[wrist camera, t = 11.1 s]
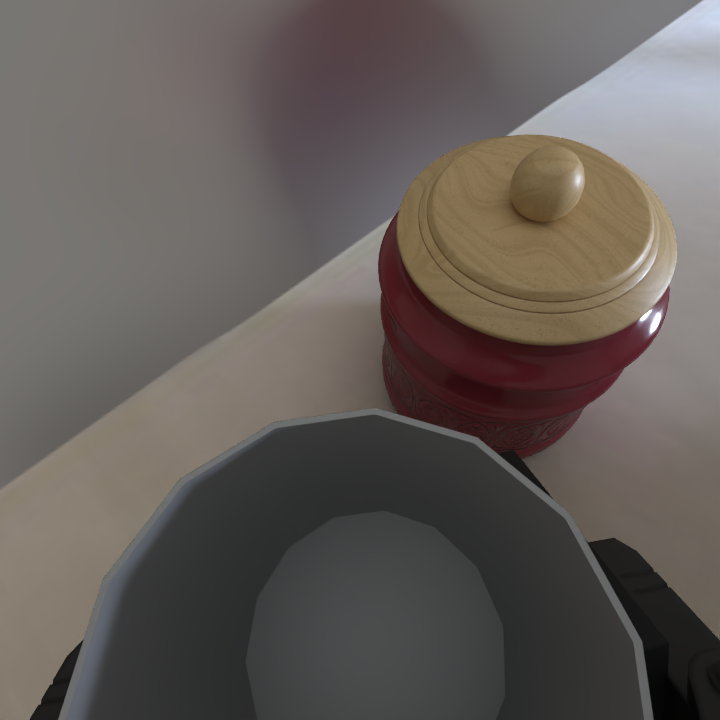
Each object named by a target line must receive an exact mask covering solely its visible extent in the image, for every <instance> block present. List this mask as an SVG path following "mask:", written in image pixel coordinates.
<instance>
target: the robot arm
mask: <svg viewBox="0 0 720 720" xmlns="http://www.w3.org/2000/svg"><path fill="white" fill-rule="evenodd" d="M497 454H498V455H499V456H501V457H502V458H503V459H504V460H506V461H507V462H508V463H509V464H510V465H512V466H513V467H514V468H515V469H517V470H518V471H519V472H520V473H521V474H523V475H524V476H525V477H526V478H528V479H529V480H530V481H531V482H532V483H534V484H535V485H536V486H537V487H539V488H540V489H541V490H542V491H543V492H545V493H546V494H547V495H548V496H550V494H549V493H548V492H547V491H546V490H545V488H544V487H543V486H542V485H541V483H540V482H539V481H538V480H537V478H536V477H535V476H534V475H533V473H532V472H531V471H530V470H529V468H528V467H527V466H526V465H525V463H524V462H523V461H522V460H521V458H520V457H519V456H518V455H517V453H516V452H515V451H514V450H510V451H504V452H499V453H497ZM550 497H551V496H550ZM551 498H552V497H551ZM552 499H553V498H552ZM553 500H554V499H553ZM585 540H586V539H585ZM586 542H587V541H586ZM587 544H588V545H589V547H590V549H591V551H592V553H593V554H594V556H595V558H596V560H597V561H598V563H599V565H600V567H601V569H602V570H603V572H604V574H605V576H606V578H607V579H608V581H609V583H610V585H611V587H612V588H613V590H614V592H615V594H616V596H617V597H618V599H619V601H620V603H621V604H622V606H623V608H624V610H625V612H626V613H627V615H628V617H629V619H630V621H631V622H632V624H633V626H634V628H635V630H636V631H637V633H638V635H639V637H640V639H641V640H642V644H643V651H644V658H645V664H646V671H647V678H648V685H649V692H650V699H651V706H652V712H653V719H654V720H720V640H719V639H718V638H717V637H716V636H715V635H714V634H713V633H712V632H711V631H710V630H709V628H708V627H707V626H706V625H705V624H704V623H703V622H702V621H701V620H700V619H699V618H698V617H697V616H696V614H695V613H694V612H693V611H692V610H691V609H690V608H689V607H688V606H687V605H686V604H685V603H684V602H683V600H682V599H681V598H680V597H679V596H678V595H677V594H676V593H675V592H674V591H673V590H672V589H671V588H670V587H669V588H668V586H667V583H666V582H665V581H664V580H663V579H662V578H661V577H660V576H659V575H658V574H657V572H654V571H653V568H652V567H651V566H650V565H649V564H648V563H647V562H646V561H645V560H644V558H643V557H642V556H641V555H640V554H639V553H638V552H637V551H636V550H634V549H632V548H630V547H629V546H627V545H625V544H624V543H622V542H620V541H619V540H617V539H615V538H611V539H605V540H599V541H594V542H587ZM83 640H84V639H83ZM83 640H82V641H81V643H80V644H79V645H78V646H77V647H76V648H75V649H74V650H73V651H72V652H71V653H70V654H69V655H68V656H67V657H66V659H65V661H64V662H63V664H62V666H61V667H60V669H59V671H58V672H57V674H56V676H55V678H54V679H53V684H52V685H50V686H49V688H48V689H47V691H46V693H45V694H44V696H43V698H42V700H41V705H38V706H37V708H36V710H35V711H34V713H33V715H32V716H31V718H30V720H58V719H59V716H60V712H61V709H62V706H63V703H64V700H65V697H66V694H67V690H68V687H69V684H70V681H71V678H72V675H73V672H74V668H75V665H76V662H77V659H78V656H79V653H80V650H81V647H82V643H83Z"/></svg>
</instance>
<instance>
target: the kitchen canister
mask: <svg viewBox="0 0 720 720" xmlns="http://www.w3.org/2000/svg"><path fill="white" fill-rule="evenodd" d="M676 260H677V241H676V235H675V231H674V227H673V224H672V221H671V219H670V216H669V214H668V212H667V210H666V208H665V207H664V205H663V203H662V202H661V200H660V199H659V198H658V196H657V195H656V194H655V192H654V191H653V190H652V189H651V188H650V187H649V186H648V185H647V184H646V183H645V182H644V181H643V180H642V179H641V178H640V177H639V176H638V175H637V174H635V173H634V172H633V171H631V170H630V169H629V168H627V167H626V166H624V165H623V164H621V163H620V162H618V161H616V160H615V159H613V158H611V157H609V156H607V155H606V154H604V153H602V152H600V151H598V150H596V149H594V148H592V147H590V146H587V145H585V144H582V143H579V142H576V141H572V140H568V139H564V138H560V137H553V136H545V135H516V136H503V137H496V138H490V139H485V140H480V141H477V142H473V143H470V144H467V145H464V146H462V147H459V148H457V149H454V150H452V151H450V152H448V153H447V154H445V155H443V156H441V157H440V158H438V159H437V160H435V161H434V162H432V163H431V164H430V165H429V166H427V167H426V168H425V169H424V170H423V171H422V172H421V173H420V174H419V175H418V176H417V177H416V178H415V180H414V181H413V182H412V184H411V185H410V187H409V188H408V190H407V192H406V194H405V195H404V198H403V200H402V203H401V205H400V209H399V211H398V212H397V213H396V215H395V216H394V218H393V219H392V221H391V223H390V224H389V226H388V228H387V230H386V233H385V235H384V238H383V241H382V244H381V248H380V253H379V261H378V273H379V282H380V287H381V291H382V293H381V320H382V325H383V329H384V337H385V341H384V346H383V355H382V364H383V376H384V381H385V385H386V389H387V392H388V394H389V397H390V399H391V401H392V404H393V405H394V407H395V409H396V411H397V412H398V414H399V415H402V416H405V417H409V418H412V419H416V420H419V421H422V422H426V423H429V424H433V425H436V426H440V427H443V428H447V429H450V430H453V431H457V432H460V433H464V434H467V435H471V436H474V437H477V438H479V439H480V440H481V441H482V442H484V443H485V444H486V445H487V446H488V447H490V448H491V449H492V450H493V451H495V452H496V453H499V452H504V451H510V450H514V451H515V452H516V453H517V455H518V456H519V457H520V458H525V457H528V456H531V455H533V454H535V453H538V452H540V451H542V450H544V449H546V448H547V447H549V446H550V445H552V444H553V443H555V442H556V441H557V440H558V439H560V438H561V437H562V436H563V435H564V434H565V433H566V432H567V431H568V430H569V429H570V428H571V427H572V426H573V424H574V423H575V422H576V421H577V419H578V418H579V416H580V415H581V413H582V411H583V409H584V408H585V407H586V406H587V405H588V404H589V403H591V402H592V401H594V400H596V399H597V398H598V397H600V396H601V395H602V394H603V393H605V392H606V391H607V390H608V389H609V388H610V387H611V386H612V385H613V383H614V382H615V381H616V380H617V379H618V377H619V376H620V374H621V373H622V371H623V370H624V368H625V367H627V366H628V365H629V364H631V363H632V362H633V361H635V360H636V359H637V358H638V357H639V356H640V355H641V354H642V353H643V352H644V351H645V350H646V349H647V348H648V347H649V345H650V344H651V343H652V341H653V340H654V338H655V337H656V335H657V334H658V332H659V330H660V328H661V326H662V323H663V321H664V319H665V315H666V312H667V308H668V302H669V291H670V287H669V284H670V281H671V279H672V276H673V273H674V270H675V266H676Z"/></svg>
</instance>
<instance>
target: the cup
mask: <svg viewBox="0 0 720 720" xmlns="http://www.w3.org/2000/svg"><path fill="white" fill-rule="evenodd" d="M58 720H654V719H653V712H652V706H651V699H650V692H649V685H648V678H647V671H646V664H645V658H644V651H643V644H642V640H641V639H640V637H639V635H638V633H637V631H636V630H635V628H634V626H633V624H632V622H631V621H630V619H629V617H628V615H627V613H626V612H625V610H624V608H623V606H622V604H621V603H620V601H619V599H618V597H617V596H616V594H615V592H614V590H613V588H612V587H611V585H610V583H609V581H608V579H607V578H606V576H605V574H604V572H603V570H602V569H601V567H600V565H599V563H598V561H597V560H596V558H595V556H594V554H593V553H592V551H591V549H590V547H589V545H588V544H587V542H586V540H585V538H584V536H583V535H582V533H581V531H580V529H579V527H578V526H577V524H576V522H575V520H574V518H573V517H572V515H571V514H570V513H569V512H568V511H567V510H565V509H564V508H563V507H562V506H561V505H559V504H558V503H557V502H556V501H554V500H553V499H552V498H551V497H550V496H548V495H547V494H546V493H545V492H543V491H542V490H541V489H540V488H539V487H537V486H536V485H535V484H534V483H532V482H531V481H530V480H529V479H528V478H526V477H525V476H524V475H523V474H521V473H520V472H519V471H518V470H517V469H515V468H514V467H513V466H512V465H510V464H509V463H508V462H507V461H506V460H504V459H503V458H502V457H501V456H499V455H498V454H497V453H496V452H495V451H493V450H492V449H491V448H490V447H488V446H487V445H486V444H485V443H484V442H482V441H481V440H480V439H479V438H477V437H474V436H471V435H467V434H464V433H460V432H457V431H453V430H450V429H447V428H443V427H440V426H436V425H433V424H429V423H426V422H422V421H419V420H416V419H412V418H409V417H405V416H402V415H398V414H395V413H391V412H388V411H384V410H381V409H378V408H371V409H364V410H357V411H349V412H342V413H335V414H328V415H321V416H313V417H306V418H299V419H292V420H285V421H277V422H273V423H271V424H270V425H268V426H267V427H265V428H263V429H262V430H260V431H258V432H257V433H255V434H253V435H252V436H250V437H248V438H247V439H245V440H243V441H242V442H240V443H238V444H237V445H235V446H233V447H232V448H230V449H228V450H227V451H225V452H223V453H222V454H220V455H219V456H217V457H215V458H214V459H212V460H210V461H209V462H207V463H205V464H204V465H202V466H200V467H199V468H197V469H195V470H194V471H192V472H190V473H189V474H187V475H185V476H184V477H182V478H180V479H179V481H178V482H177V483H176V485H175V486H174V487H173V489H172V490H171V491H170V493H169V494H168V495H167V496H166V498H165V499H164V500H163V502H162V503H161V504H160V506H159V507H158V508H157V509H156V511H155V512H154V513H153V515H152V516H151V517H150V519H149V520H148V521H147V522H146V524H145V525H144V526H143V528H142V529H141V530H140V532H139V533H138V534H137V535H136V537H135V538H134V539H133V541H132V542H131V543H130V545H129V546H128V547H127V549H126V550H125V551H124V552H123V554H122V555H121V556H120V558H119V559H118V560H117V562H116V563H115V564H114V565H113V567H112V568H111V569H110V571H109V572H108V573H107V575H106V576H105V577H104V578H103V581H102V584H101V587H100V590H99V593H98V596H97V599H96V603H95V606H94V609H93V612H92V615H91V618H90V621H89V625H88V628H87V631H86V634H85V637H84V640H83V643H82V647H81V650H80V653H79V656H78V659H77V662H76V665H75V668H74V672H73V675H72V678H71V681H70V684H69V687H68V690H67V694H66V697H65V700H64V703H63V706H62V709H61V712H60V716H59V719H58Z"/></svg>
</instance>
